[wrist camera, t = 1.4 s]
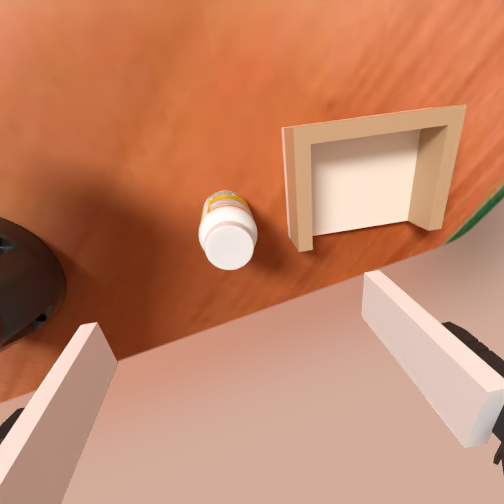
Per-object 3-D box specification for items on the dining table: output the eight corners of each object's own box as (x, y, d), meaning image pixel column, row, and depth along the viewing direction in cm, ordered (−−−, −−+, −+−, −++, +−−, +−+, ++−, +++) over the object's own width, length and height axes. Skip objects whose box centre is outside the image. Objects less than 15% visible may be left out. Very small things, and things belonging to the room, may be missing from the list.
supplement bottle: (221, 179, 28) (224, 202, 20) (259, 209, 30) (276, 242, 22) (192, 217, 30) (182, 254, 21) (230, 244, 32) (235, 288, 23)
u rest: (288, 236, 32) (298, 252, 28) (281, 127, 27) (293, 127, 23) (413, 216, 33) (441, 228, 29) (430, 107, 28) (467, 104, 24)
